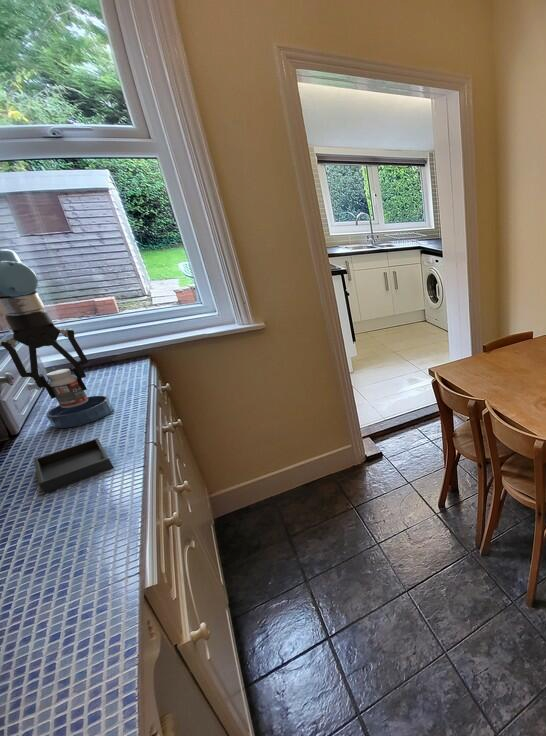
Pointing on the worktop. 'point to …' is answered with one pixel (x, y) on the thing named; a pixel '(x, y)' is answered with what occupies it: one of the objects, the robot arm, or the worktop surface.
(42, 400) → the worktop surface
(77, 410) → the bowl
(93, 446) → the tray
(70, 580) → the worktop surface
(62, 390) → the pill bottle
